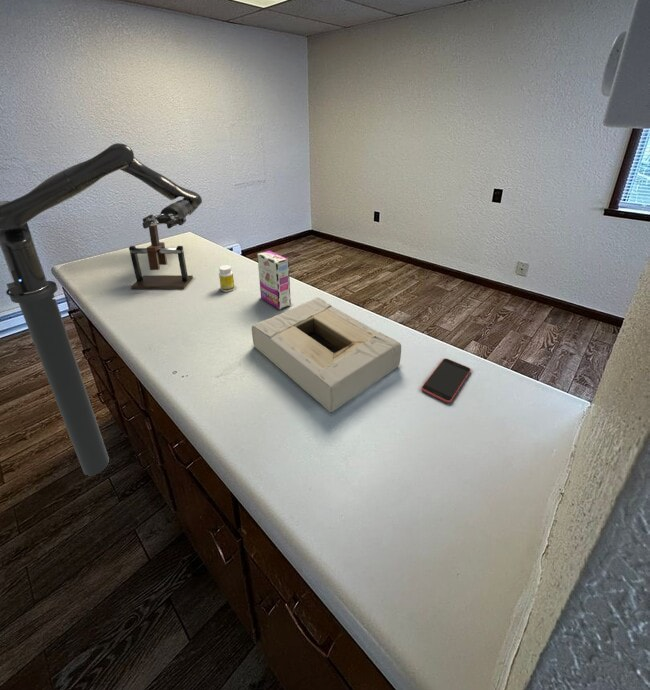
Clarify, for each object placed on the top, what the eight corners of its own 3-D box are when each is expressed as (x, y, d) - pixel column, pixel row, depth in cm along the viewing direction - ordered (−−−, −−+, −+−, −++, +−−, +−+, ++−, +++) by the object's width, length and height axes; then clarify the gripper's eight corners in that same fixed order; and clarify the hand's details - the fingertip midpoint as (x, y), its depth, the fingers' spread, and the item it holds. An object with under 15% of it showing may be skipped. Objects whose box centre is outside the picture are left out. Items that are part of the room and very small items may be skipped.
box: (401, 366, 90) (317, 315, 112) (403, 340, 87) (316, 293, 108) (333, 417, 75) (252, 347, 97) (333, 389, 72) (249, 323, 94)
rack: (184, 289, 129) (177, 251, 123) (131, 289, 129) (122, 251, 124) (193, 278, 137) (187, 242, 131) (143, 278, 137) (135, 242, 132)
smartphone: (472, 368, 87) (450, 402, 77) (471, 370, 88) (450, 404, 78) (444, 357, 91) (420, 387, 81) (444, 358, 92) (419, 390, 82)
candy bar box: (291, 305, 118) (289, 258, 111) (279, 310, 115) (276, 263, 108) (272, 293, 125) (269, 249, 119) (260, 298, 122) (256, 253, 116)
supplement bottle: (236, 289, 128) (234, 268, 125) (223, 293, 126) (221, 271, 122) (231, 284, 132) (229, 263, 129) (219, 288, 129) (216, 266, 126)
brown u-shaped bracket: (158, 270, 126) (152, 227, 122) (150, 270, 126) (143, 227, 122) (167, 263, 133) (161, 223, 129) (159, 263, 133) (153, 223, 129)
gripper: (155, 204, 141) (134, 215, 126) (191, 204, 141) (174, 215, 126) (158, 222, 144) (138, 236, 129) (194, 222, 144) (177, 235, 129)
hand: (156, 225), depth 128 cm, fingers open, 8 cm apart
